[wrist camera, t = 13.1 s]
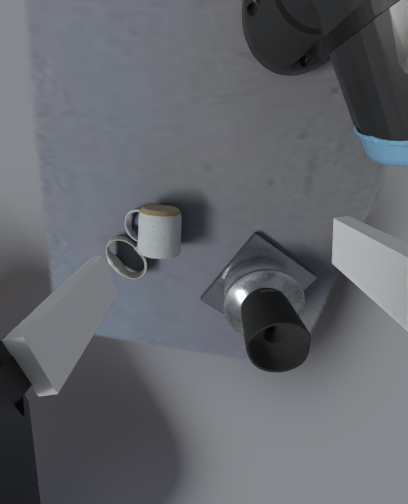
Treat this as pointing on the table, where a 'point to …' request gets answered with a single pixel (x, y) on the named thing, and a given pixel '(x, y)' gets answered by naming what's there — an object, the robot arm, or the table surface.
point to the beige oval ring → (117, 263)
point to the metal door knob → (257, 279)
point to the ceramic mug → (157, 231)
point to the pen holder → (273, 331)
